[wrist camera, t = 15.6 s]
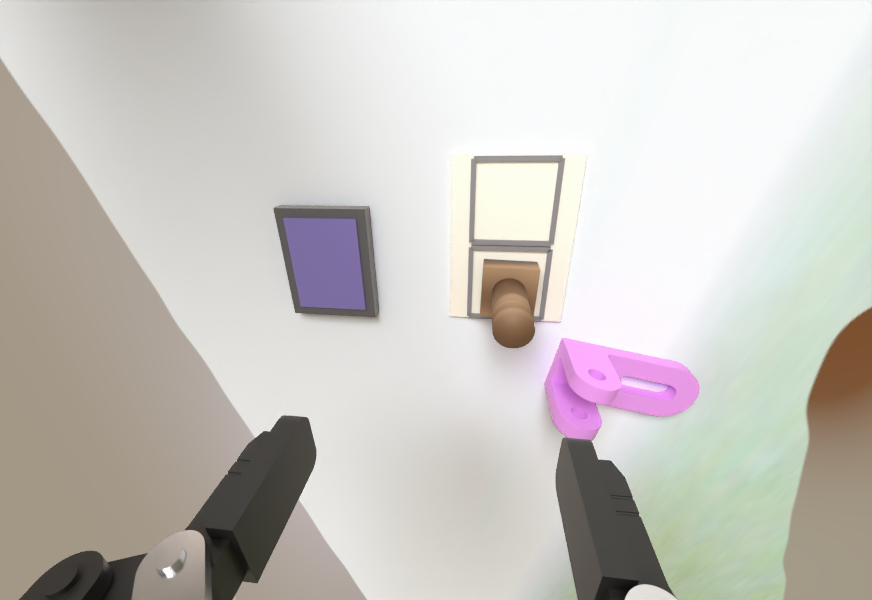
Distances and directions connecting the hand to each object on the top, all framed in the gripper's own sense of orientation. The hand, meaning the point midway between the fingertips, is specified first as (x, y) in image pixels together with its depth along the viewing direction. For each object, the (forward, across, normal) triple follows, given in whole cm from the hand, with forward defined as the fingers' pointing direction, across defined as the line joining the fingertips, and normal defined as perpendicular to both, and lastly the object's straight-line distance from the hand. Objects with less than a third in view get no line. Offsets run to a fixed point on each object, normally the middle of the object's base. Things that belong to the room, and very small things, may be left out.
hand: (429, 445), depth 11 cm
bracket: (+21, -15, +13) cm, 29 cm away
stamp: (+21, -4, +4) cm, 22 cm away
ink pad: (+22, +12, +2) cm, 25 cm away
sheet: (+21, -4, 0) cm, 22 cm away
